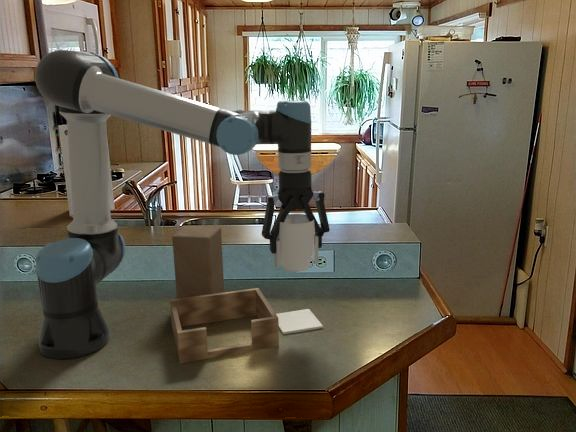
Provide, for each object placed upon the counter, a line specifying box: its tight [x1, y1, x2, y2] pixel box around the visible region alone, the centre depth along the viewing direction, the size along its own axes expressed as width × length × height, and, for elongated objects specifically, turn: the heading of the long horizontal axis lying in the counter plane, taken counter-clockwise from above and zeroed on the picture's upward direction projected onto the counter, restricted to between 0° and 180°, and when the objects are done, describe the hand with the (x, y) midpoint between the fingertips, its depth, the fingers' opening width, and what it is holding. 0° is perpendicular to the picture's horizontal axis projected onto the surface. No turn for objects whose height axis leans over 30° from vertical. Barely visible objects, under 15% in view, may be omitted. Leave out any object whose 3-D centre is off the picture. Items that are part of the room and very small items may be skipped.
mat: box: [275, 308, 324, 335], centre depth 129 cm, size 10×10×1 cm
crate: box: [169, 287, 280, 364], centre depth 122 cm, size 22×18×7 cm
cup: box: [277, 213, 315, 273], centre depth 124 cm, size 9×9×12 cm
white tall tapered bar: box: [57, 124, 116, 217], centre depth 235 cm, size 20×14×40 cm
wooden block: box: [171, 225, 225, 299], centre depth 139 cm, size 10×10×20 cm
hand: (296, 263), depth 125 cm, fingers closed on cup, 9 cm apart
